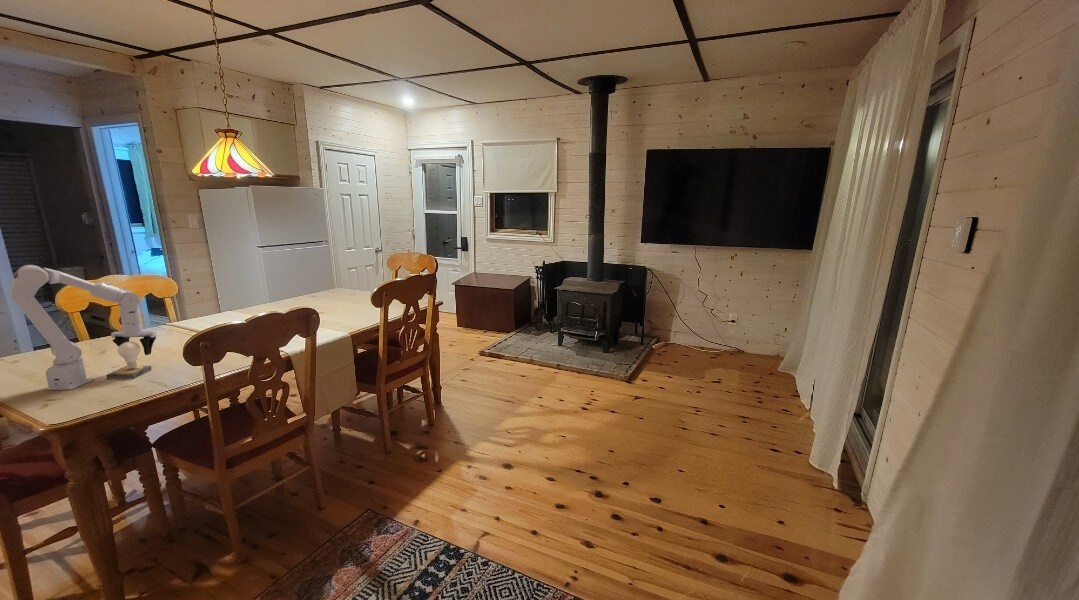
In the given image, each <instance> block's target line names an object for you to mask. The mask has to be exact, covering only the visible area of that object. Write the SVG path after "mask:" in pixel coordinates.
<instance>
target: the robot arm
mask: <svg viewBox="0 0 1079 600" xmlns="http://www.w3.org/2000/svg"><path fill="white" fill-rule="evenodd" d="M47 283H48V284H51V285H52V284H53V285H54V284H64V285H68V286H71V287H74V288H77V289H82V290H84V291H88V292H90V295H91V296H93V297H95V298H98V299H101V300H105V301H108V302H110V303H117V304H118V306H119V315H120V321H121V327H122V331H114V332H113V331H112V332H111V333H110V334H111V338H112V342H113V343H115V344H116V346H117V347H119V346H120V345H121V344H123V343H125V342H130V338H140V339H139V342H140V343H141V345H142V348H143V352H144V355H145V356H148V355H151V354H152V349H153V345H154V342H155V340H156V338H157V337H158V336H157V331H153V330H151V331H150V330H145V329H144V327H143V321H142V314H141V309H140V305H139V304H140V303H141V298H140V297H139V295H138V294H137V293H135V292H133V291H130V290H128V289H126V288H124V287H122V288H121V287H117V286H114V285H112V284H111V283H110V282H108V281H105V282H103V281H100V282H95V283H94V282H91V281H89V280H85V279H83V278H80V277H77V276H74V275H72V274H69V273H65V272H63V271H60V270H55V269H51V268H47V267H43V268H42V267H40V266H38V265H35V264H25V265H23V266H20V267H19V268H18V269H17V270H16V272H15V273H14V274H13V275H12V283H11V289H10V294H9V295H10V298H11V299H12V300H13V302H14V303H15V304H16V305H17V306H18V307H19V308H20V310H21V311H22V312H23V313H24V315H25V316H26V317H27V319H29V321H30V322H31V323H32V324H33V326H34V327H35V328H36V329H37V330H38V332H39V333H40V334H41V336H42V337H43V338H44V339H45V341H47V343H48V344H49V345H50V347H51V348H50V352H51V354H53V356H55V359H54V360H53V361H52V365H51V366H50V367H49V368H47V370H46V371H45V377H46V381H47V388H45V390H46V391H51V390H52V391H57V390H58V391H59V390H60V391H61V390H73V389H76V388H78V387H80V386H82V385H85V384H86V383H89V382H91V381H94V380H95V378H94V377H87V374H86V368H85V363H84V358H83V356H82V353H83V352H82V349H80V348H79V347H78V346H77V345H76V344H75V343H74V342H73V341H71V340H69V339H68V338H67V337H66V335H65V334H64V333H63V332H62V330H61V329H60V328H59V327H58V325H57V324H56V323H55V321H54V320H53V319H52V318H51V316H50V315H49V314H48V312H46V310H45V308H43V306H42V305H41V304H40V302H39V301H38V300H37V299H36V297H35V295H36V294H37V293H38V291H39V289H40V288H41V287H43V286H44V285H45V284H47Z"/></svg>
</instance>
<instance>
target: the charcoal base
mask: <svg viewBox="0 0 1079 600" xmlns="http://www.w3.org/2000/svg"><path fill="white" fill-rule="evenodd" d="M150 371H152V365H137V367H136V368H134V369H128V367H127V365H125V366H123V367H120V368H119V369H116V370H114V371H111V372H109V373H107V374H106V375H105V376H106V379H107V380H130V379H131V380H135V379H136V378H139V377H140V376H142V375H145V374H147V373H149V372H150Z"/></svg>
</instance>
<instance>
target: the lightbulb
mask: <svg viewBox="0 0 1079 600" xmlns="http://www.w3.org/2000/svg"><path fill="white" fill-rule="evenodd" d="M117 347H118V346H117ZM140 352H141V346H140V344H138V343H137V342H135V341H129V342H125V343H123V344H121V345H120V346H119V347H118V348H117V353H118V355H119V356H120V357H122V358H123V359H124V361H125V363H126V366H127V367H128V369H134V368H136V367H137V366H138V364H137V360H138V356H139V355H140Z"/></svg>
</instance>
